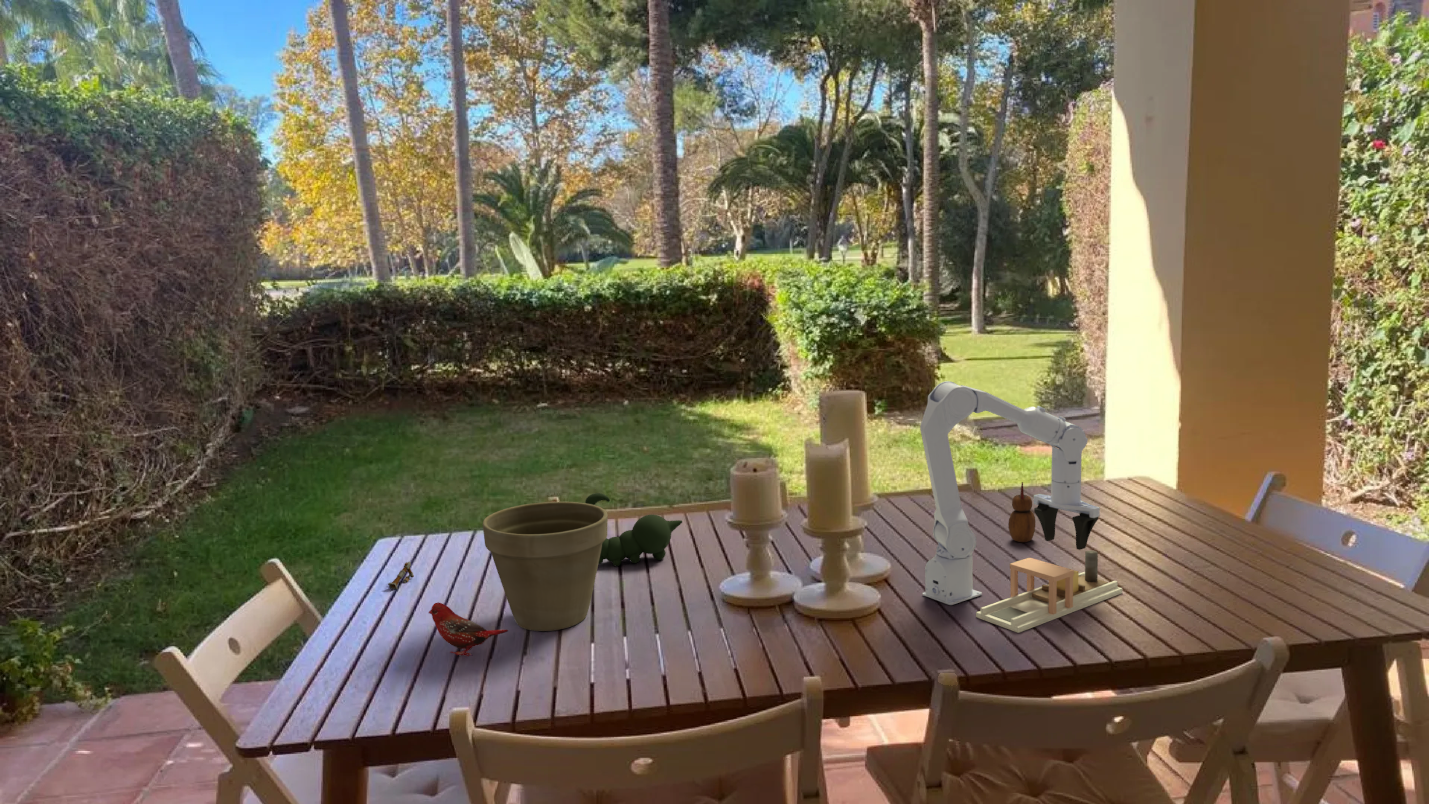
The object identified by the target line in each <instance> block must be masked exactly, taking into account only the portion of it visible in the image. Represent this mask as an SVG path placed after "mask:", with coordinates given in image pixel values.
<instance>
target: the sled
mask: <svg viewBox="0 0 1429 804" xmlns="http://www.w3.org/2000/svg"><path fill="white" fill-rule="evenodd" d="M1084 553H1085V554H1084V558H1085V559H1084V572H1085V575H1082V576H1080V577H1079V578H1078V591H1076V592H1073V596H1074V595H1077V594H1080V593H1083V592H1085V591H1088V590H1091V589H1093V588H1096V587H1099V586H1102V585H1104V584H1107V583H1109V582H1108V581H1105V580H1102V579H1099V578H1098V573H1099V572H1098V569H1099V567H1098V564H1099V562H1098V561H1099V559H1098V558H1099V551H1096V550H1091V549H1090V550H1089V549H1088V550H1085V551H1084ZM1041 587H1042V590H1040V591H1037V592H1034V593H1032V597H1033V598H1036V599H1039V600H1042V601H1045V602H1048V603H1049V586H1048V584H1042V585H1041ZM1064 599H1065V591H1064V590H1061V589H1057V601H1056V602H1058V601H1061V600H1064Z"/></svg>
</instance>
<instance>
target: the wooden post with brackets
mask: <svg viewBox="0 0 1429 804" xmlns="http://www.w3.org/2000/svg"><path fill="white" fill-rule="evenodd" d="M411 566H412V565H411V561H407V562H405V563H404V565H403V568H402V569H401V570H400V571H399V572H398V574H397V575H396V578H395V579H394V580H392V582H388V583H387V585H388V587H389V589H392V590H398V589H399V588H398V585H399V583H400V581H401V580H402V579H403V577H404V576H405V575H406V573H408V575H407V576H405V577H404V579H403V580H402V581H403V584H406V583H409V581H411V578H414V577H415V575H414V572H413V571H412V569H411Z"/></svg>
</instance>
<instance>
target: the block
mask: <svg viewBox="0 0 1429 804" xmlns="http://www.w3.org/2000/svg"><path fill="white" fill-rule="evenodd" d="M1063 567H1064V566H1063ZM1064 568H1066V567H1064ZM1070 569H1071V568H1070ZM1071 570H1074V575H1073V592H1076V591H1078V578H1079V571H1078V570H1075V569H1071ZM1057 589H1061V590H1064V591H1065V579H1062V580H1059V581H1057Z"/></svg>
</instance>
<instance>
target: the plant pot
mask: <svg viewBox="0 0 1429 804" xmlns="http://www.w3.org/2000/svg"><path fill="white" fill-rule="evenodd" d="M608 517H609V514H608V512H607V510H606V509H604V508H602V507H601V506H598V505H596V504H595V505H592V504H586V503H585V502H577V501H576V502H575V501H545V502H535V503H534V502H532V503H527V504H520V505H515V506H511V507H510V506H509V507H507V508H504V509H501V510H498V511H495V512H494V513H491V514H490V515H488V516H486V517H485V518H484V519H483V521H482V531H483V538H484V546H485V548H486V549H487V550H488V551H489V552H490V553H491V556H492V560H493V562H494V566H495V568H496V569H495V570H496V571H497V575H498V577H499V580H500V583H501V586H502V588H503V591H504V593H505V597H506V600H507V603H508V605H509V608H510V612H511V615H512V616H513V619H514V622H515V623H516V624H517V626H519V627H520V628H522V629H524V630H528V631H532V632H533V631H534V632H550V631H551V632H552V631H559V630H563V629H568V628H571V627H573V626H576V625H578V624H580V623H581V622H582V621H584V620H585V619H586V617H587V615H588V612H589V609H590V605H591V600H592V595H593V592H594V586H595V581H596V577H597V572H598V567H599V564H598V563H599V558H600V553H601V548H602V543H603V542H604V541H605V539H606V538H607V537H608V520H609V519H608ZM607 539H608V538H607Z"/></svg>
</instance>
